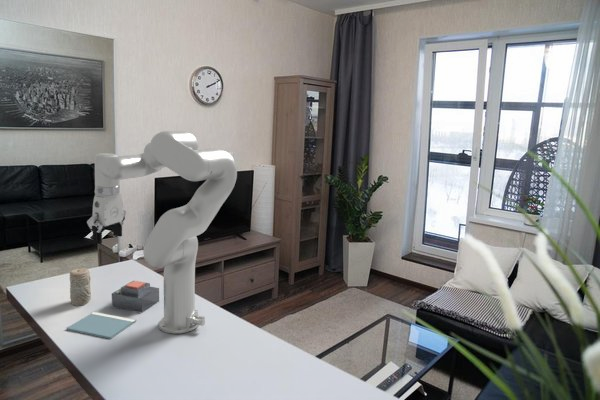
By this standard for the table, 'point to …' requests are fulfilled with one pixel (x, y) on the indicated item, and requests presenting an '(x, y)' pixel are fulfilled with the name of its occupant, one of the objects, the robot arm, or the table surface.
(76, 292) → the carving
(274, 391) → the table surface
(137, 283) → the button
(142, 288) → the breaker box
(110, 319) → the mat
